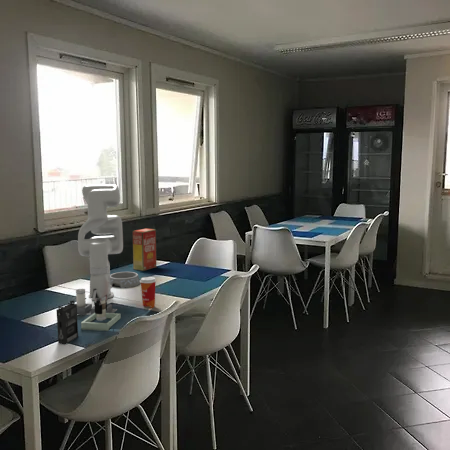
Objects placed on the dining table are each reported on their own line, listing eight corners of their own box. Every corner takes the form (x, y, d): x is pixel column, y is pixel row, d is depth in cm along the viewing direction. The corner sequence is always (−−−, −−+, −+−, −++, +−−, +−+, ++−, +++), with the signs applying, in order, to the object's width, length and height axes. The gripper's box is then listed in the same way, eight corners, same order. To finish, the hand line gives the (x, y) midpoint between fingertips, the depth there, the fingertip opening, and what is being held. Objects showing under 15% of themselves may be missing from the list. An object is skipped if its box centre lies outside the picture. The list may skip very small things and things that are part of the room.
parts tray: (95, 318, 226) (95, 312, 226) (120, 320, 224) (120, 313, 224) (81, 329, 213) (81, 322, 212) (108, 331, 211) (107, 324, 210)
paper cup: (139, 305, 246) (138, 277, 244) (154, 303, 249) (153, 275, 247) (143, 310, 239) (142, 281, 237) (158, 307, 242) (158, 279, 240)
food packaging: (143, 271, 318) (142, 231, 314) (132, 269, 323) (131, 230, 319) (157, 267, 329) (156, 229, 325) (146, 265, 334) (145, 228, 330)
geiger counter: (70, 334, 207) (68, 299, 204) (80, 335, 205) (78, 300, 203) (54, 343, 197) (52, 306, 195) (64, 345, 195) (62, 307, 193)
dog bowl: (130, 289, 277) (130, 279, 276) (101, 286, 283) (101, 277, 282) (145, 281, 293) (145, 272, 292) (117, 279, 299) (117, 270, 298)
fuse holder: (74, 309, 241) (74, 301, 240) (118, 311, 237) (118, 304, 236) (64, 315, 231) (64, 308, 231) (109, 318, 227) (109, 310, 227)
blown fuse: (98, 317, 220) (98, 295, 219) (107, 318, 220) (106, 295, 218) (94, 320, 216) (94, 297, 215) (103, 320, 216) (103, 297, 214)
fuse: (79, 309, 237) (78, 288, 236) (87, 309, 236) (86, 288, 235) (75, 311, 233) (74, 290, 232) (83, 312, 232) (82, 291, 231)
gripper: (99, 266, 224) (100, 306, 226) (82, 274, 208) (84, 317, 210) (115, 266, 223) (116, 306, 225) (99, 275, 206) (101, 318, 209)
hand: (101, 311), depth 218 cm, fingers closed on blown fuse, 4 cm apart
